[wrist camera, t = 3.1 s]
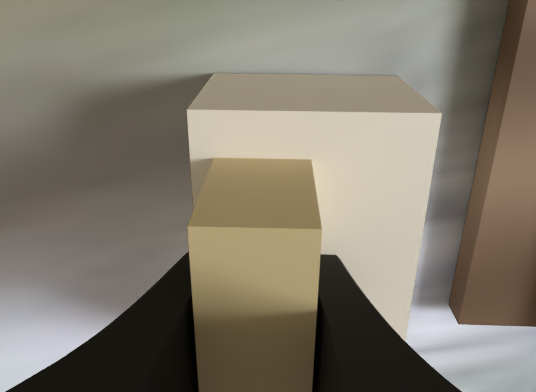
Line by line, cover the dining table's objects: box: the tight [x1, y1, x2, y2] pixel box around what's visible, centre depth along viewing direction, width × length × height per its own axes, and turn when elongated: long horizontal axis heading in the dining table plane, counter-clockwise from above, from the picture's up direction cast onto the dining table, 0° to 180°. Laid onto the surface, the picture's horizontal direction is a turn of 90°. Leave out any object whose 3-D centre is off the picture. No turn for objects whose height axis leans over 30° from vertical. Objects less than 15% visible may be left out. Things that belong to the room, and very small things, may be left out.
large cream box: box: [187, 73, 442, 392], centre depth 11 cm, size 8×5×7 cm, turn 0°
